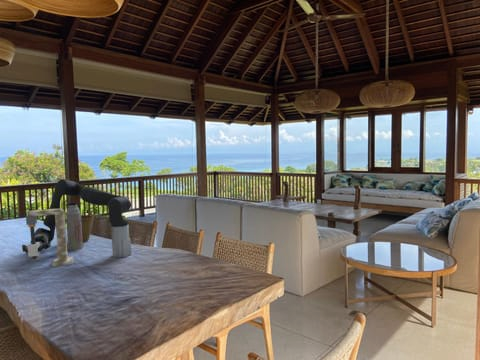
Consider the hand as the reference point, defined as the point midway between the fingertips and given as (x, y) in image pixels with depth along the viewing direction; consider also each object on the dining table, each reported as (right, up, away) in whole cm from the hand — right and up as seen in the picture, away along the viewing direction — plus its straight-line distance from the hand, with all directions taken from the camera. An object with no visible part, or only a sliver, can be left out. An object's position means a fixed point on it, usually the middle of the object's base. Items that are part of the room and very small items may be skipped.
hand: (32, 250), depth 170 cm
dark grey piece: (-1, -6, +3) cm, 7 cm away
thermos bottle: (+6, -6, +33) cm, 34 cm away
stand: (+7, -8, +6) cm, 12 cm away
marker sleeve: (-1, -3, +3) cm, 4 cm away
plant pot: (+2, -4, +50) cm, 50 cm away
